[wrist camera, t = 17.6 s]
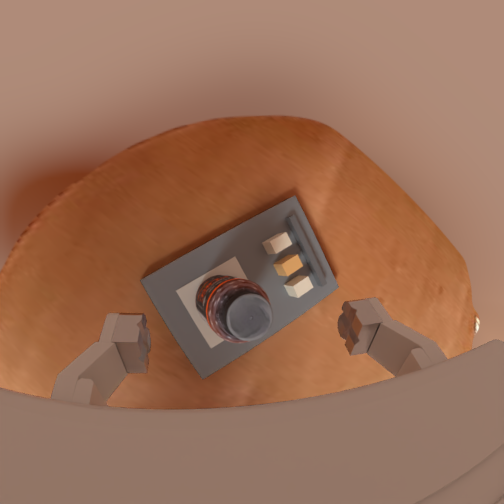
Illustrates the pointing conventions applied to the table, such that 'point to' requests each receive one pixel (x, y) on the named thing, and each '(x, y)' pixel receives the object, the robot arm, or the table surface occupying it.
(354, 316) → the robot arm
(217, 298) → the supplement bottle
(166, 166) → the table surface
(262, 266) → the breaker board
